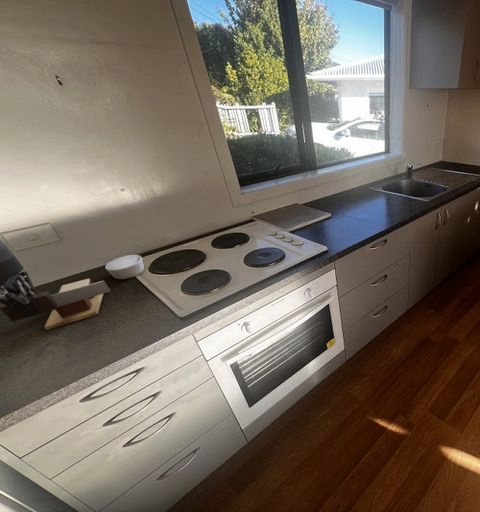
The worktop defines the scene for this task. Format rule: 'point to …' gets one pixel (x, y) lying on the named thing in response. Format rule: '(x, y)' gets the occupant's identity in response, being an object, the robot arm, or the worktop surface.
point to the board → (57, 321)
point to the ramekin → (125, 267)
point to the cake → (76, 285)
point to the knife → (56, 299)
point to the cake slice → (74, 308)
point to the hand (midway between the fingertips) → (34, 311)
